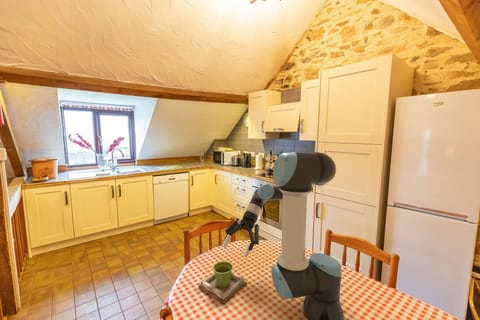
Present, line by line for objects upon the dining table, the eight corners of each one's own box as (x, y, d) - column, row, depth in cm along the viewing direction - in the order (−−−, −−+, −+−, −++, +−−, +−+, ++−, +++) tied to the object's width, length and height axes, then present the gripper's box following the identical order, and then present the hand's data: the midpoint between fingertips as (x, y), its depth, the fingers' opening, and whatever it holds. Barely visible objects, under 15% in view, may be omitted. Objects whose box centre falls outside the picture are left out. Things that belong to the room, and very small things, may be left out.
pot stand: (246, 284, 107) (246, 278, 106) (223, 304, 94) (223, 297, 94) (221, 271, 117) (221, 265, 116) (198, 287, 104) (198, 281, 104)
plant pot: (232, 291, 101) (233, 273, 100) (211, 291, 100) (211, 273, 99) (233, 277, 110) (233, 261, 109) (214, 277, 110) (214, 261, 109)
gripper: (274, 222, 115) (258, 263, 105) (236, 212, 131) (219, 246, 121) (269, 215, 111) (251, 257, 101) (230, 205, 126) (212, 241, 116)
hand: (234, 251), depth 111 cm, fingers open, 13 cm apart
